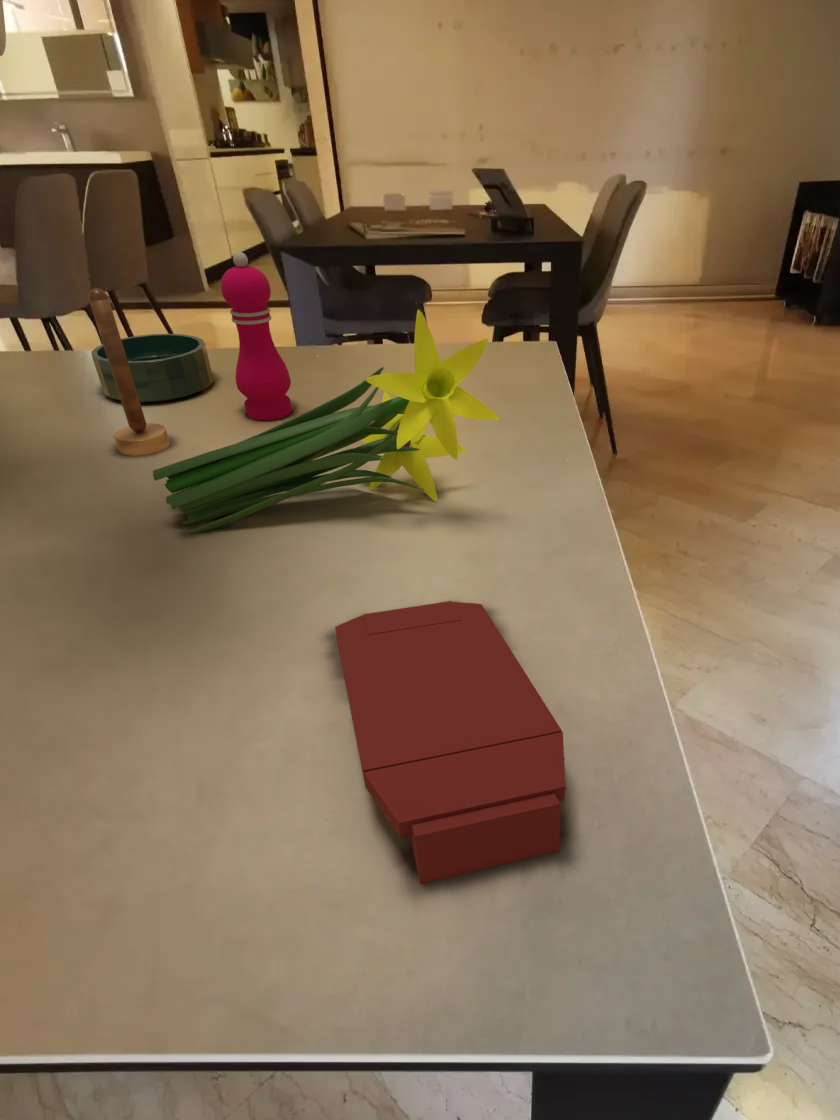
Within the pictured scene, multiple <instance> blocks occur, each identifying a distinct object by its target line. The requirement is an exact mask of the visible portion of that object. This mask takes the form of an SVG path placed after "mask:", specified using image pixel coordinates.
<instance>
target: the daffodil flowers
mask: <svg viewBox="0 0 840 1120" xmlns="http://www.w3.org/2000/svg"><path fill="white" fill-rule="evenodd" d="M488 342H489V338H483V339H481V340H478V341H476V342H474V343H472V344H469V345H467V346H466V347H464V348H462V349H460V350H458V351H456V352H455V353H453V354H451V355H449V356H448V357H447V358H445V359H443V360H441V359H440V355H439V353H438V348H437V345H436V342H435V339H434V336H433V334H432V332H431V330H430V328H429V325H428V322H427V319H426V317H425V316H424V314H423V312H422V311H421V310H420V309H417V310H416V316H415V326H414V344H413V348H414V349H413V351H414V352H413V356H414V357H413V358H414V360H413V361H414V372H387V373H382V372H383V371H384V369H385V367H384V366H382V367H380V368H379V369H377V370H376V371H375V372H373V373H372V374H371V375H369V376H368V377H367V378H365V379H364V380H363V381H362V382H360V383H359V384H356V385H355V386H354V387H351V388H350V389H349V390H347V391H346V392H344V393H342V394H340V395H338V396H336V397H334V398H332V399H329V400H328V401H325V402H324V403H322V404H320V405H318V406H316V407H313V408H311V409H310V410H308V411H305V412H304V413H302V414H299V415H297V416H294V417H293V418H291V419H288V420H286V421H284V422H281V423H279V424H278V425H276V426H275V425H274V427H273V426H272V427H271V428H269V429H266V430H264V431H262V432H261V433H258V434H255V435H253V436H251V437H247V438H246V439H244V440H241V441H239V442H237V443H233V444H229V445H226V446H224V447H221V448H217V449H214V450H211V451H207V452H203V453H202V454H201V453H200V454H198V455H195V456H193V457H189V458H187V459H184V460H180V461H177V462H175V463H171V464H168V465H165V466H162V467H160V468H156V469H153V470H152V476H153V480H154V481H159V480H162V479H164V478H167V480H165V483H164V484H163V485H164V487H165V488H166V489H167V491H169V493H171V494H169V495H167V496H166V497H165V503H166V505H169V504H170V507H171V509H172V510H174V509H177V508H178V509H179V511H180V512H181V513H184V512H186V514H187V520H184V521H182V525H184V526H189V525H193V524H197V523H198V524H199V523H203V522H208V521H210V520H213V519H216V518H219V519H217V520H214V521H212V522H209V523H207V524H204V525H201V526H199V527H196V528H194V529H191V530H188V534H190V535H192V534H197V533H203V532H206V531H211V530H214V529H217V528H220V527H222V526H225V525H227V524H230V523H233V522H236V521H237V520H240V519H242V518H245V517H247V516H249V515H252V514H255V513H257V512H259V511H261V510H264V509H266V508H269V507H271V506H273V505H275V504H279V503H280V502H283V501H285V500H287V499H290V498H292V497H297V496H298V497H299V496H302V495H306V494H307V495H308V494H313V493H316V492H322V491H325V490H330V489H336V488H341V487H348V486H356V485H363V484H367V483H370V485H369V488H368V490H370V491H373V490H375V489H377V487H379V486H380V485H382V484H383V483H391V484H392V483H393V484H397V485H400V486H401V485H403V486H407V487H410V488H414V489H417V490H421V491H423V492H424V493H425V494H426V495H427V496H428V497H429V498H431V499H432V501H434V502H435V503H436V502H437V500H438V494H437V490H436V486H435V481H434V477H433V474H432V472H431V469H430V467H429V464H428V462H427V459H430V458H438V457H439V458H440V457H447V456H450V457H451V458H452V459H453V460H455V461H458V459H459V458H458V457H459V454H462V453H465V452H466V451H467V449H466V448H465V447H463V446H462V445H460V444H459V443H458V435H457V426H456V420H455V416H459V417H462V418H465V419H469V420H475V421H489V422H490V421H498V420H500V419H501V417H500V416H499V415H498V414H497V413H496V412H495V411H494V410H492V409H491V408H490V407H489V406H488V405H487V404H485V403H484V402H483V401H481V400H480V399H479V398H477V397H476V396H474V395H473V394H471V393H469V392H468V391H467V390H465V389H464V388H462V387H460V386H459V384H460V383H461V382H462V381H463V380H464V379H465V378H466V377H467V376H468V374H470V372H471V371H472V370H473V369H474V368H475V366H476V364H477V363H478V362H479V360H480V358H481V357H482V355H483V353H484V351H485V350H486V347H487V345H488ZM372 386H374V387H375V388H374V389H373V390H372V392H371V393H370V394H369V395H368V397H366V399H364V401H363V402H362V403H361V404H360V405H359V406H358V407H351V408H348V409H347V408H346V407H348V406H349V405H352V404H353V403H355V402H356V401H357V400H358V399H360V398H361V397H362V396H363V395H365V393H366V392H367V391H368V390H369V389H370V388H371V387H372ZM379 389H380V390H381V391H384V392H383V395H382V401H381V402H380V403H376V404H374V405H369V404H370V403H371V402H372V401H373V398H374V397H375V395H376V394H377V392H378V390H379ZM390 394H391V395H393V396H396V397H394V398H392V396H391V395H390ZM344 408H346V409H344ZM342 409H344V410H342ZM429 424H430V426H431V429H432V430H433V433H434V434H435V436H433V435H428V434H427V435H426V434H425V433H426V430H427V427H428V425H429ZM383 427H385V428H383ZM360 441H361V442H363V444H362V445H359V446H356V447H353V448H349V449H345V450H342V451H339V450H341V449H344V448H346V447H349V446H351V445H353V444H355V443H356V444H357V443H358V442H360ZM336 451H338V452H336ZM334 452H335V453H334ZM331 453H332V454H331ZM328 454H329V455H328ZM380 454H383V455H380ZM375 461H376V462H377V461H379V463H378V464H377V467H376V469H375V471H373V470H367V469H359V468H361V467H363V466H364V465H366V464H367V463H368V462H375ZM341 467H342V468H341ZM401 467H403V468H404V470H405V471H406V472H407V474H408V475H409V476H410V477H411V478H412V480H413V481H414V483H416V485H414V484H412V483H409V482H407V481H403V480H400V479H397V478H394V477H393V475H394V474H396V473H397V472H398V470H400V469H401ZM339 468H340V469H339ZM337 469H338V470H337ZM333 470H335V471H333ZM330 471H333V472H330ZM327 472H330V473H327ZM325 473H326V474H325ZM352 478H353V479H352ZM340 480H341V481H340ZM229 514H230V515H229ZM223 516H224V517H223ZM220 517H221V518H220Z"/></svg>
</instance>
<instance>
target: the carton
mask: <svg viewBox="0 0 840 1120" xmlns="http://www.w3.org/2000/svg"><path fill="white" fill-rule="evenodd" d="M334 628H335V636H336V641H337V646H338V651H339V656H340V662H341V667H342V672H343V677H344V683H345V687H346V693H347V698H348V699H347V700H348V704H349V709H350V715H351V720H352V725H353V730H354V735H355V740H356V745H357V751H358V755H359V762H360V766H361V771H362V777H363V782H364V787H365V789H366V791H367V792H368V793H369V795H370V796H371V798H372V799H373V801H374V802H375V804H376V805H377V806H378V808H379V809H380V811H381V812H382V813H383V816H384V817H385V818H386V820H387V821H388V822H389V824H390V826H391V827H392V828H393V830H394V831H395V833H396V834H397V835H398V837H399V838H400V839H402V838H407V837H410V838H411V839H410V840H411V848H412V854H413V859H414V863H415V866H416V872H417V876H418V881H419V884H420V885H421V884H426V883H429V882H434V881H439V880H443V879H446V878H450V877H455V876H459V875H463V874H467V873H472V872H475V871H480V870H484V869H488V868H492V867H497V866H501V865H505V864H509V863H513V862H518V861H521V860H522V861H523V860H525V859H529V858H533V857H538V856H542V855H547V854H551V853H554V852H559V851H560V837H561V836H560V834H561V832H560V831H561V823H560V822H561V803H563V802H565V794H566V788H567V787H566V785H567V784H566V767H565V766H566V765H565V749H564V748H565V747H564V731H563V730H562V728H561V727H560V725H559V724H558V722H557V720H556V719H555V717H554V716H553V714H552V713H551V711H550V710H549V708H548V706H547V704H546V702H545V701H544V700H543V698H542V697H541V695H540V693H539V692H538V690H537V689H536V688H535V685H534V683H532V681H531V680H530V678H529V676H528V675H527V673H526V671H525V670H524V668H523V667H522V665H521V664H520V662H519V661H518V659H517V657H516V656H515V655H514V653H513V651H512V649H511V647H510V646H509V645H508V643H507V641H506V640H505V639H504V637H503V636H502V633H501V632H500V631H499V629H498V627H497V626H496V624H495V623H494V621H493V620H492V618H491V616H490V615H489V613H488V612H487V610H486V608H485V607H484V605H483V604H482V603H473V602H464V601H463V602H460V601H452V600H448V601H441V602H436V603H434V602H433V603H428V604H421V605H415V606H407V607H402V608H395V609H394V608H393V609H389V610H383V611H382V610H381V611H375V612H368V613H363V614H362V615H359V616H357V617H354V618H351V619H350V620H347V621H345V622H343V623H340V624H338V625H336V626H335V627H334Z"/></svg>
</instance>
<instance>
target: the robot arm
mask: <svg viewBox="0 0 840 1120" xmlns="http://www.w3.org/2000/svg"><path fill="white" fill-rule="evenodd" d="M5 21H6V20H5V11H4V0H0V57H2V56H3V55H4V54H5V50H6V46H7V45H6V44H7V32H6V31H7V30H6V22H5Z"/></svg>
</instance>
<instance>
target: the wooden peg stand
mask: <svg viewBox="0 0 840 1120" xmlns="http://www.w3.org/2000/svg"><path fill="white" fill-rule="evenodd" d="M87 298H88V302H89V304H90V307H91V311H92V314H93V317H94V321H95V324H96V327H97V331H98V334H99V337H100V340H101V343H102V345H103V346H104V349H105V352H106V355H107V358H108V362H109V365H110V368H111V371H112V374H113V377H114V381H115V384H116V387H117V390H118V393H119V396H120V399H121V400H120V402H121V406H122V408H123V412H124V415H125V418H126V421H127V425H126V426H124V427H121V428H119V429H118V430H116V431H115V432H114V433H113V438H114V441H115V445H116V448H117V451H118V452H119V454H122V455H125V456H131V457H132V456H133V457H136V456H146V455H147V456H148V455H151V454H152V455H153V454H156V453H158V452H159V453H160V452H161V451H164V450H166V449H167V448H168V447H169V446H170V444H171V443H170V438H169V435H168V431H167V429H166V427H165V426H164V425H163V424H160V423H152V422H147V421H146V417H145V414H144V410H143V408H142V404H141V402H140V401H139V397H138V394H137V391H136V387H135V384H134V381H133V377H132V374H131V371H130V367H129V364H128V361H127V357H126V354H125V351H124V347H123V344H122V341H121V339H122V337H121V334H120V331H119V327H118V325H117V324H118V323H117V321H116V318H115V314H114V311H113V308H112V305H111V301H110V298H109V296H108V293H107V292H105V290H103V289H101V288H98V287H97V288H96V287H95V288H94V287H93V288H92V289H91V290H89V292H88V296H87Z"/></svg>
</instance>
